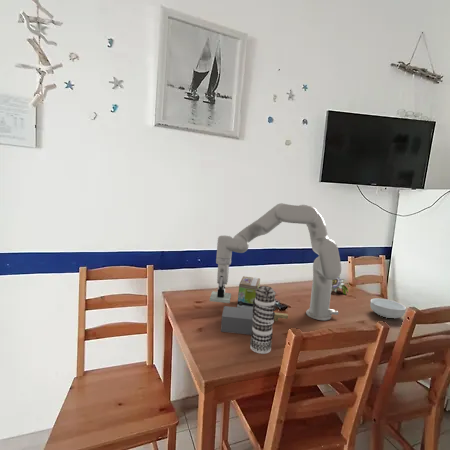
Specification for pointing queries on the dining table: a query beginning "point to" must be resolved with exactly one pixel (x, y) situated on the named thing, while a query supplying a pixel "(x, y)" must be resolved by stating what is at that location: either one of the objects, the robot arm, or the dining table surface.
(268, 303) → the decorative candle
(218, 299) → the lid
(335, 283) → the passion flower
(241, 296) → the tea box
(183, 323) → the dining table surface
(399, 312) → the cereal bowl
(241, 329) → the case
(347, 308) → the dining table surface
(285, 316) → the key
